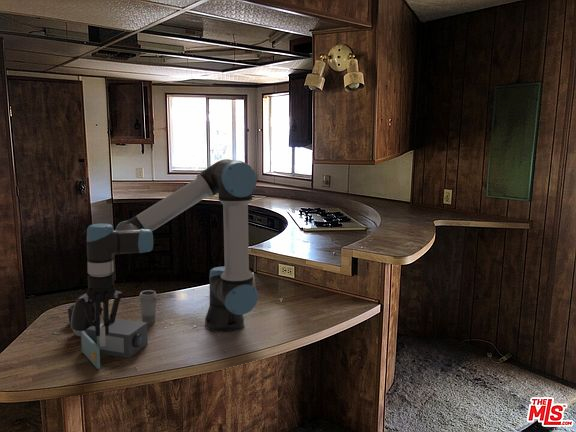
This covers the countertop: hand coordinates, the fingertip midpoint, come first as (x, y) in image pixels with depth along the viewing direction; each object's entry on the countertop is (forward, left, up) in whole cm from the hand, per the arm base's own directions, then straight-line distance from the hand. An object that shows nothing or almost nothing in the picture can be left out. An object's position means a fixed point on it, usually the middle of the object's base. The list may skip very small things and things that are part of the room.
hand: (102, 344), depth 146 cm
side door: (+4, +1, -5) cm, 7 cm away
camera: (+26, -27, -6) cm, 38 cm away
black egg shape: (+18, -16, -6) cm, 25 cm away
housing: (+1, -10, -6) cm, 12 cm away
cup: (+3, -33, -6) cm, 34 cm away
